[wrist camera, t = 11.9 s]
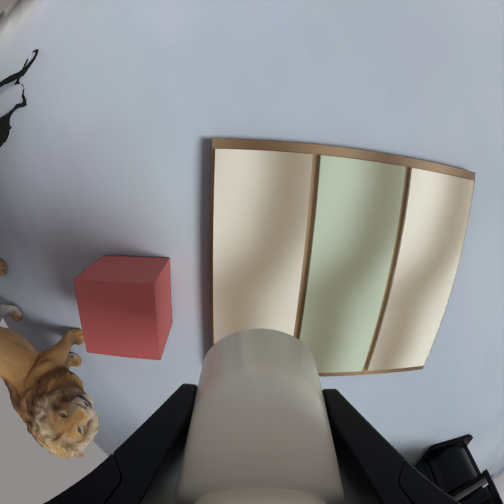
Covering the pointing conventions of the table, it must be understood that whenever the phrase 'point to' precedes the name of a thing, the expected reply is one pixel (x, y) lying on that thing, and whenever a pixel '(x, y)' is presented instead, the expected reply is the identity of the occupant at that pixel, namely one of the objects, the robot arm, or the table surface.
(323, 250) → the board
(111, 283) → the die
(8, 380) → the lion figurine
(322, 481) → the pawn
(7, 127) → the creature
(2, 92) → the table surface
